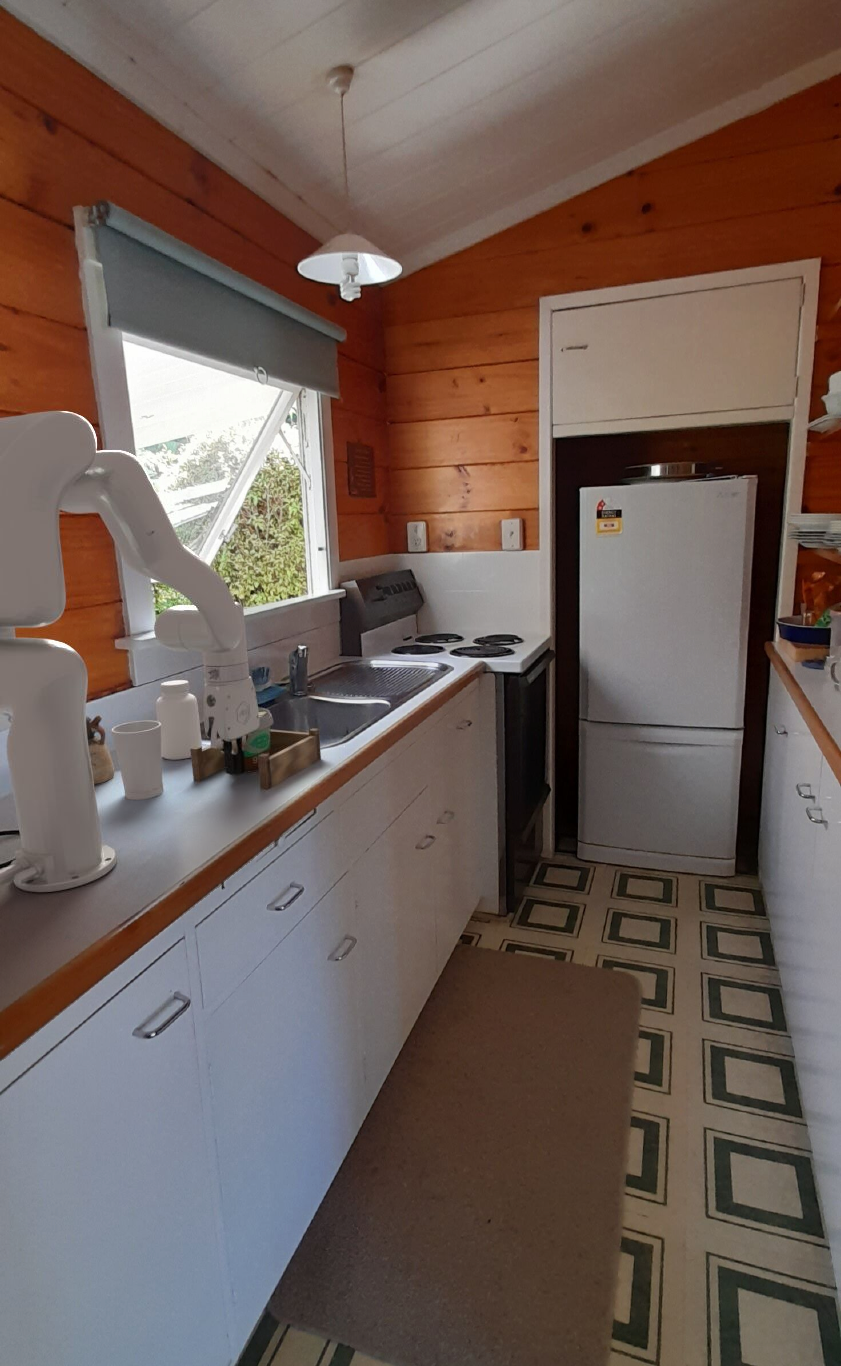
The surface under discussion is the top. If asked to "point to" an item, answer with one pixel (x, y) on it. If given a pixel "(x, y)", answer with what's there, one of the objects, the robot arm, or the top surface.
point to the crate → (266, 757)
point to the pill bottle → (178, 720)
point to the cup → (139, 758)
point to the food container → (258, 741)
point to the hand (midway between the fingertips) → (235, 773)
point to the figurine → (98, 752)
